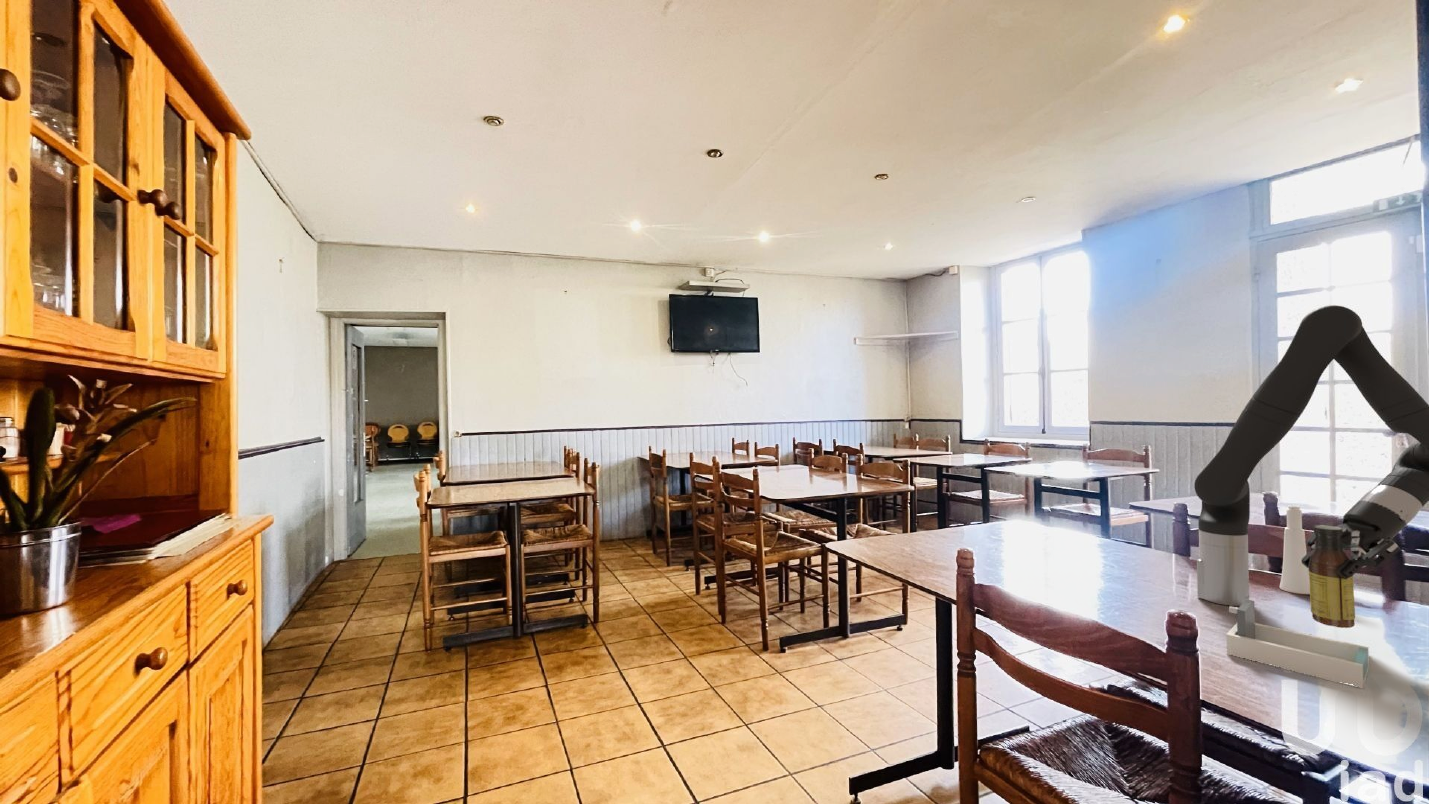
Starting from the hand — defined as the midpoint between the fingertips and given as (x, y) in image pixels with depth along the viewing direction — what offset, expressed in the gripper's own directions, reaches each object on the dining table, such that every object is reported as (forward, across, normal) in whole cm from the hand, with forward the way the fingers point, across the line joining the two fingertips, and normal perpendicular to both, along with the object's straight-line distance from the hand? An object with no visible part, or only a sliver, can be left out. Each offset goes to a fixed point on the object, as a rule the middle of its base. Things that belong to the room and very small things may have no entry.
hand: (1322, 570), depth 118 cm
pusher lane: (+20, +8, +2) cm, 21 cm away
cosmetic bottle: (-6, -32, +28) cm, 43 cm away
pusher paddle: (+22, +2, -3) cm, 23 cm away
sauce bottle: (+7, 0, +9) cm, 11 cm away
